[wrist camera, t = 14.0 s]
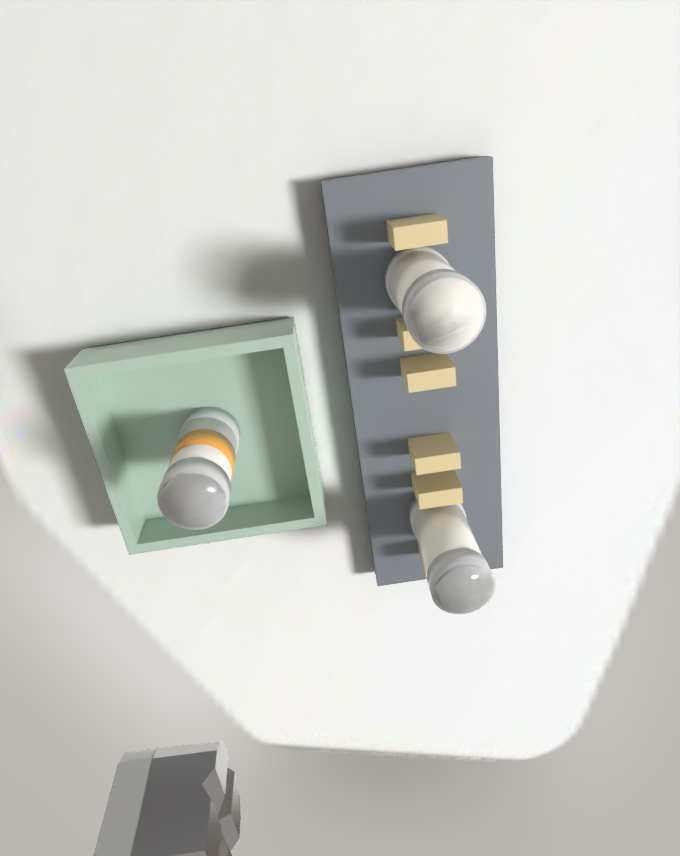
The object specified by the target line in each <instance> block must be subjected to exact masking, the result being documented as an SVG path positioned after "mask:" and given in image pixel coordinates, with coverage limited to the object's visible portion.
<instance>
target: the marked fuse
mask: <svg viewBox="0 0 680 856" xmlns="http://www.w3.org/2000/svg"><path fill="white" fill-rule="evenodd" d="M239 441H240V427H239V424H238V422H237V421H236V419H235V418H234V417H233V416H232V415H231V414H230V413H229V412H227V411H225V410H223V409H221V408H218V407H202V408H199V409H196V410H194V411H193V412H191V413H190V414H189V415H188V416H187V418H186V419H185V421H184V423H183V426H182V428H181V431H180V434H179V441H178V443H177V445H176V447H175V450H174V453H173V455H172V458H171V461H170V464H169V468H168V469H167V471H166V472H165V474H164V477H163V479H162V482H161V484H160V487H159V490H158V494H157V503H158V506H159V509H160V511H161V513H162V514H163V515H164V517H165V518H166V519H167V520H169V521H170V522H171V523H173V524H174V525H176V526H178V527H181V528H185V529H190V530H199V529H205V528H208V527H211V526H213V525H215V524H216V523H218V522H219V521H220V520H221V519H222V518H223V517H224V515H225V514H226V511H227V509H228V504H229V498H230V493H231V483H230V482H231V479H232V475H233V470H234V464H235V455H236V453H237V451H238V447H239Z"/></svg>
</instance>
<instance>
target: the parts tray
mask: <svg viewBox="0 0 680 856" xmlns="http://www.w3.org/2000/svg"><path fill="white" fill-rule="evenodd" d="M64 371H65V374H66V377H67V380H68V383H69V386H70V388H71V391H72V394H73V397H74V400H75V403H76V405H77V408H78V411H79V414H80V417H81V420H82V422H83V425H84V428H85V431H86V434H87V437H88V439H89V442H90V445H91V448H92V451H93V454H94V456H95V459H96V462H97V465H98V468H99V471H100V473H101V476H102V479H103V482H104V485H105V488H106V490H107V493H108V496H109V499H110V502H111V505H112V507H113V510H114V513H115V516H116V519H117V522H118V524H119V527H120V530H121V533H122V536H123V539H124V541H125V544H126V547H127V550H128V553H129V555H131V554H137V553H144V552H151V551H157V550H164V549H171V548H177V547H184V546H191V545H197V544H204V543H210V542H217V541H224V540H230V539H237V538H244V537H250V536H257V535H264V534H270V533H277V532H284V531H290V530H297V529H303V528H310V527H317V526H323V525H327V521H326V509H325V496H324V491H323V485H322V479H321V473H320V467H319V462H318V456H317V450H316V444H315V438H314V433H313V427H312V421H311V415H310V410H309V404H308V398H307V392H306V386H305V381H304V375H303V369H302V363H301V357H300V352H299V346H298V340H297V334H296V329H295V323H294V317H291V318H284V319H278V320H271V321H264V322H258V323H251V324H245V325H238V326H231V327H225V328H218V329H211V330H205V331H198V332H192V333H185V334H178V335H172V336H165V337H158V338H152V339H145V340H139V341H132V342H125V343H119V344H112V345H105V346H99V347H92V348H86V349H82V350H81V351H80V352H79V353H78V354H77V355H76V356H75V357H74V358H73V360H72V361H71V362H70V363H69V364H68V365H67V366H66V367H65V368H64ZM202 407H218V408H221V409H223V410H225V411H227V412H229V413H230V414H231V415H232V416H233V417H234V418H235V419H236V421H237V422H238V424H239V427H240V441H239V447H238V451H237V453H236V455H235V464H234V470H233V475H232V479H231V482H230V483H231V493H230V498H229V504H228V509H227V511H226V514H225V515H224V517H223V518H222V519H221V520H220V521H219V522H218V523H216V524H215V525H213V526H211V527H208V528H205V529H199V530H190V529H185V528H181V527H178V526H176V525H174V524H173V523H171V522H170V521H169V520H167V519H166V518H165V517H164V515H163V514H162V513H161V511H160V509H159V506H158V503H157V494H158V490H159V487H160V484H161V482H162V479H163V477H164V474H165V472H166V471H167V469H168V468H169V464H170V461H171V458H172V455H173V453H174V450H175V447H176V445H177V443H178V441H179V434H180V431H181V428H182V426H183V423H184V421H185V419H186V418H187V416H188V415H189V414H190V413H191V412H193V411H194V410H196V409H199V408H202Z"/></svg>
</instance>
